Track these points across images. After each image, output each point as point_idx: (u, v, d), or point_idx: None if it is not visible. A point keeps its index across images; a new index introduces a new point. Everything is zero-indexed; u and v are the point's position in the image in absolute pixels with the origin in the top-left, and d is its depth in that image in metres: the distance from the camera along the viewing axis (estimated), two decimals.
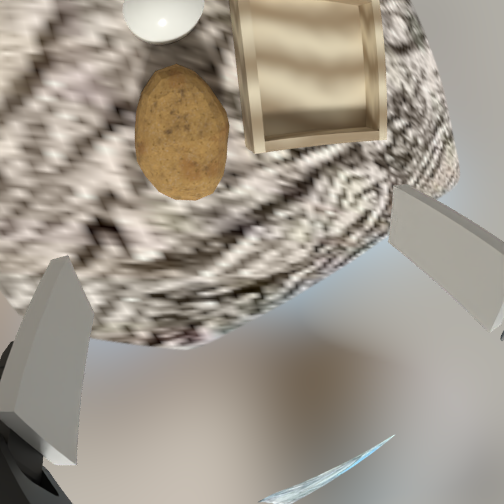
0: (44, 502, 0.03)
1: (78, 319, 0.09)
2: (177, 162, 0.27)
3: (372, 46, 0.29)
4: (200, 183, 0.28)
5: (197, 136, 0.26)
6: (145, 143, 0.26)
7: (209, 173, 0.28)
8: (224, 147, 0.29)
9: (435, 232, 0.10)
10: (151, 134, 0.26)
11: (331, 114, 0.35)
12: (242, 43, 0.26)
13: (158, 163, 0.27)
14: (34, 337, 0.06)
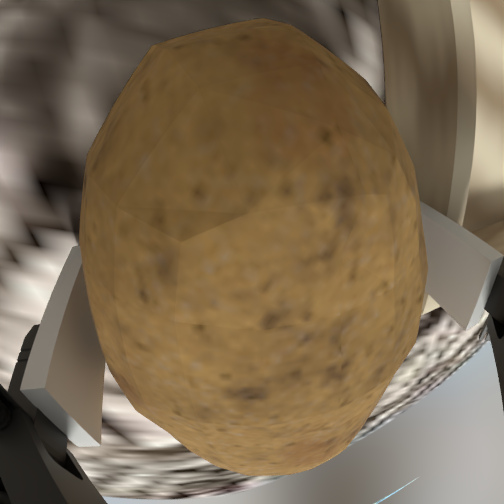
0: (70, 485, 0.04)
1: None
2: (276, 451, 0.07)
3: None
4: (328, 459, 0.08)
5: (364, 388, 0.06)
6: (139, 395, 0.06)
7: (355, 434, 0.08)
8: None
9: None
10: (162, 385, 0.06)
11: None
12: (447, 12, 0.06)
13: (202, 444, 0.07)
14: (62, 317, 0.07)
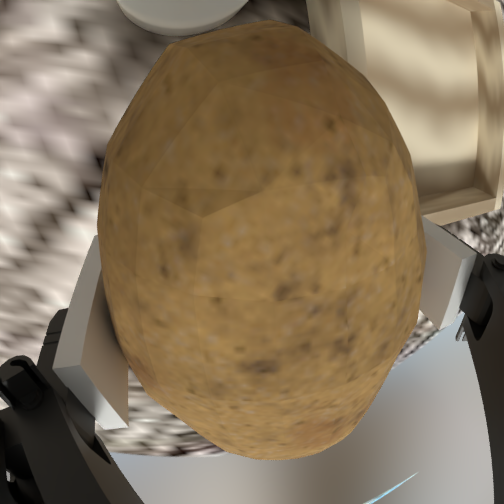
0: (101, 469, 0.04)
1: None
2: (285, 430, 0.07)
3: (494, 74, 0.16)
4: (335, 442, 0.09)
5: (369, 364, 0.06)
6: (154, 375, 0.07)
7: (361, 416, 0.09)
8: None
9: None
10: (178, 361, 0.06)
11: (441, 171, 0.22)
12: (343, 43, 0.13)
13: (213, 425, 0.08)
14: (92, 299, 0.07)
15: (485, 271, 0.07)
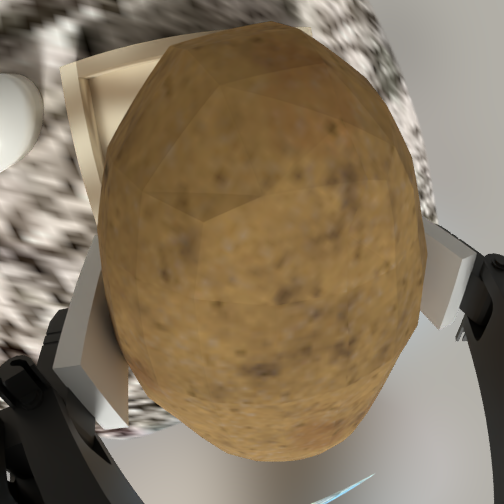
0: (101, 469, 0.04)
1: None
2: (286, 432, 0.07)
3: None
4: (335, 444, 0.09)
5: (370, 366, 0.06)
6: (155, 377, 0.07)
7: (361, 418, 0.09)
8: None
9: None
10: (179, 365, 0.06)
11: None
12: (80, 165, 0.19)
13: (213, 428, 0.07)
14: (93, 299, 0.07)
15: (485, 271, 0.07)
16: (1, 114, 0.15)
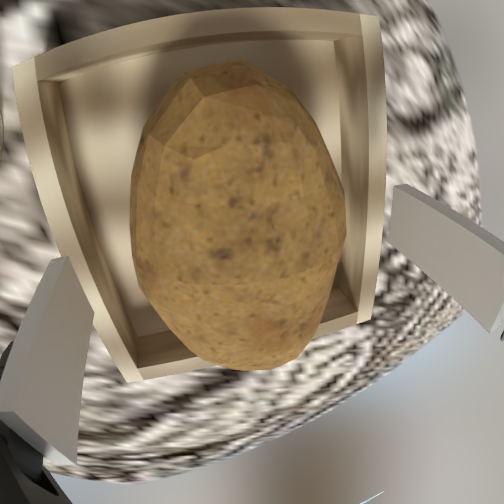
0: (44, 502, 0.03)
1: (78, 319, 0.09)
2: (242, 322, 0.12)
3: (359, 143, 0.15)
4: (286, 354, 0.13)
5: (296, 267, 0.11)
6: (156, 270, 0.11)
7: (306, 333, 0.13)
8: (335, 270, 0.14)
9: (435, 232, 0.10)
10: (173, 253, 0.10)
11: None
12: None
13: (192, 318, 0.12)
14: (34, 337, 0.06)
15: None
16: None
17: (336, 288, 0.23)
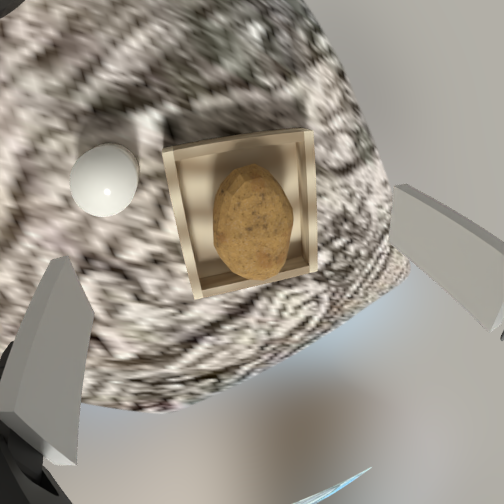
0: (44, 502, 0.03)
1: (78, 319, 0.09)
2: (254, 253, 0.34)
3: (304, 187, 0.38)
4: (270, 269, 0.36)
5: (272, 234, 0.34)
6: (226, 235, 0.34)
7: (278, 261, 0.36)
8: (289, 238, 0.36)
9: (435, 232, 0.10)
10: (233, 229, 0.33)
11: None
12: (174, 213, 0.35)
13: (237, 253, 0.35)
14: (34, 337, 0.06)
15: None
16: (118, 177, 0.31)
17: (300, 256, 0.45)
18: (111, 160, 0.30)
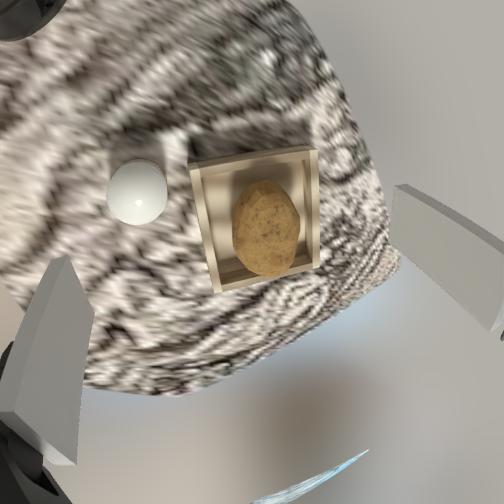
0: (44, 502, 0.03)
1: (78, 319, 0.09)
2: (269, 255, 0.41)
3: (309, 196, 0.45)
4: (281, 268, 0.43)
5: (284, 239, 0.40)
6: (245, 240, 0.41)
7: (288, 261, 0.43)
8: (297, 241, 0.43)
9: (435, 232, 0.10)
10: (251, 235, 0.40)
11: None
12: (199, 221, 0.42)
13: (254, 254, 0.41)
14: (34, 337, 0.06)
15: None
16: (151, 191, 0.38)
17: (304, 254, 0.52)
18: (145, 177, 0.37)
